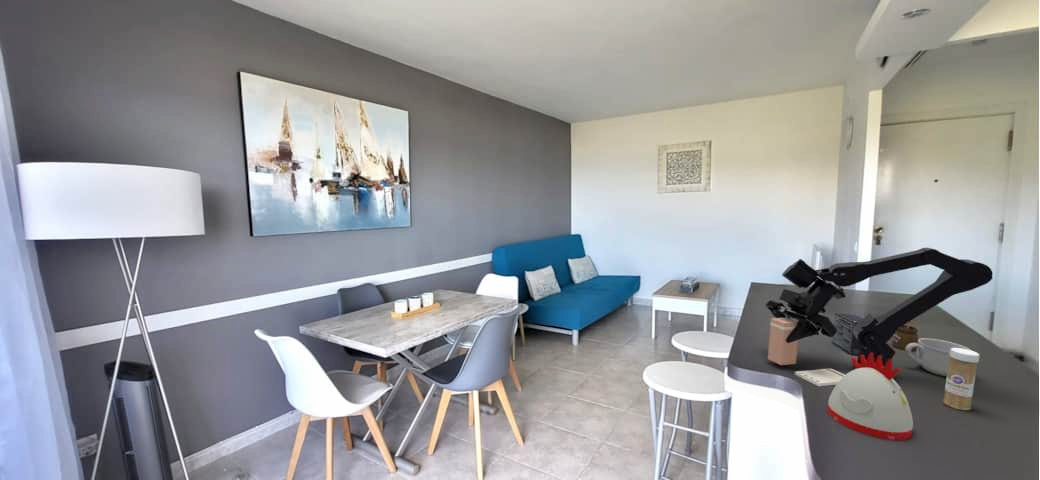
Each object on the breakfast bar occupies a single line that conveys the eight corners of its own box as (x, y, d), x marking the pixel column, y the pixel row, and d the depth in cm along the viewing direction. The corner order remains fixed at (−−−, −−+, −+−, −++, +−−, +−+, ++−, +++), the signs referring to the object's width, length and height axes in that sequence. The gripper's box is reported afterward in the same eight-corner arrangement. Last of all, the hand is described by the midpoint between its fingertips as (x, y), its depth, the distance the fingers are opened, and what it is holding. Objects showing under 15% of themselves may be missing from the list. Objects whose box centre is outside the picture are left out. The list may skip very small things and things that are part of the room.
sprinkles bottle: (942, 405, 94) (950, 350, 93) (942, 399, 97) (950, 345, 96) (971, 413, 91) (980, 356, 90) (971, 406, 94) (979, 351, 93)
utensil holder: (913, 347, 132) (918, 311, 131) (919, 353, 127) (924, 316, 126) (889, 343, 136) (894, 308, 134) (894, 349, 130) (898, 312, 129)
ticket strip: (830, 371, 112) (831, 368, 112) (856, 382, 105) (856, 379, 105) (794, 374, 110) (795, 371, 110) (818, 386, 103) (819, 383, 103)
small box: (874, 357, 123) (878, 323, 122) (849, 355, 124) (853, 322, 123) (853, 344, 133) (856, 314, 132) (830, 343, 135) (834, 312, 134)
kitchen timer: (888, 446, 78) (898, 372, 77) (813, 411, 91) (820, 347, 89) (925, 431, 84) (935, 361, 82) (850, 400, 96) (857, 339, 95)
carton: (782, 357, 118) (785, 317, 117) (796, 363, 113) (799, 322, 112) (767, 358, 117) (770, 318, 116) (780, 365, 112) (784, 323, 111)
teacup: (956, 368, 116) (960, 341, 115) (979, 384, 106) (983, 355, 105) (893, 359, 122) (896, 333, 121) (909, 373, 112) (913, 345, 111)
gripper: (773, 273, 122) (739, 311, 121) (832, 287, 104) (793, 331, 103) (792, 298, 125) (759, 334, 124) (853, 315, 107) (815, 358, 106)
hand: (779, 338), depth 114 cm, fingers closed on carton, 4 cm apart
